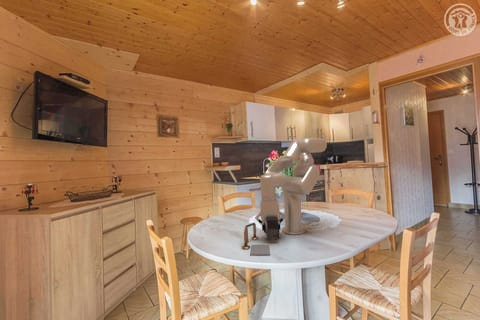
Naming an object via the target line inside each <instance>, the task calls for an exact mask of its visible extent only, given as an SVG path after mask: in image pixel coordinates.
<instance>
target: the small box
mask: <svg viewBox="0 0 480 320" xmlns="http://www.w3.org/2000/svg"><path fill="white" fill-rule="evenodd" d="M264 224H265V235H266V237H267V239H268V241H269V240H276V239H280V238H281V236H280V235H281V234H280V230H279V225H278V218H277V217H269V218H265V222H264Z"/></svg>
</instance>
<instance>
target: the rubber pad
mask: <svg viewBox="0 0 480 320" xmlns="http://www.w3.org/2000/svg"><path fill="white" fill-rule="evenodd" d="M249 256H251V257H252V256H254V257H255V256H258V257H259V256H262V257H264V256H265V257H267V256H269V257H270V256H271V247H270V244H251V245H250V253H249Z"/></svg>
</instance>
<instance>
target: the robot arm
mask: <svg viewBox="0 0 480 320" xmlns="http://www.w3.org/2000/svg"><path fill="white" fill-rule="evenodd" d="M327 145H328V143H327V140H326V139H324V138H322V137H304V138H303V137H302V138H296V139H294V140H293V141H291V143H290V144H289V146H288V147H287V149H286V150H285V152H284V153H283V155H282V156H281V157H279V158H278V159H276V160H275V161H274V162H272V164H271V165H269V166H268V167H267V170H266V171H265V173H264V174H262V175H260V176H259V182H260V194H261V195H260V196H261V200H260V202H259V203H260V204H259V205H260V206H259V212H258V214H257V215H256V216H255V218H254V219H255V220H256V221H257V222H258V223H259V224H260V225H261V228H262V230H261V231H263V233H265V224H264V222H265V218H269V217H277V218H278V225H279V231H281V224H282V222H283V221H284V226H283V227H282V232H283V233H284V234H286V235H290V236H291V235H292V236H293V235H294V236H295V235H296V236H297V235H302V234H304V233H305V232H306V231H305V229H311V225H310V224H308V223H307V224H305V223H303V221H302V201H301V197H300V195H301V196H306V195H307V196H308V195H309V194H310V193H311V191H312V190H313V189H314V187H315V185H316V184H317V182H318V180H319V179H320V174H321V173H320V168H319V166H318V165H316V164H314V161H315V160H314V158H313V156H312V154H313V153H323V152H325V150H326V149H327ZM311 153H312V154H311ZM292 167H293V169H292V171H291V172H292V173H291V175H292V176H288V175H287V173H284V172H282V171H284V170H286V169H289V168H292ZM280 187H281V189H282V193H283V194H282V195H283V205H284V206H283V208H284V210H283V211H284V213H283V212H282V211H280V206H279V200H278V199H279V195H277V194H276V188H280ZM265 234H266V233H265Z"/></svg>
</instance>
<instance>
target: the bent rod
mask: <svg viewBox="0 0 480 320" xmlns="http://www.w3.org/2000/svg"><path fill="white" fill-rule="evenodd" d="M251 226H252V228H253V234H252V235H253V236H251V237H250V239H251V240H253V241H257V240H259V238H260V237H259V236H258V235H257V228H256V226H257V224H256V223H255V222H252V223H249V224H246V225H245V226H244V230H243V243H244V245H242V246H241V249H242V250H247V251H248V250H251V245H249V244H248V243H249V230H248V228H249V227H251Z"/></svg>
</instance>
